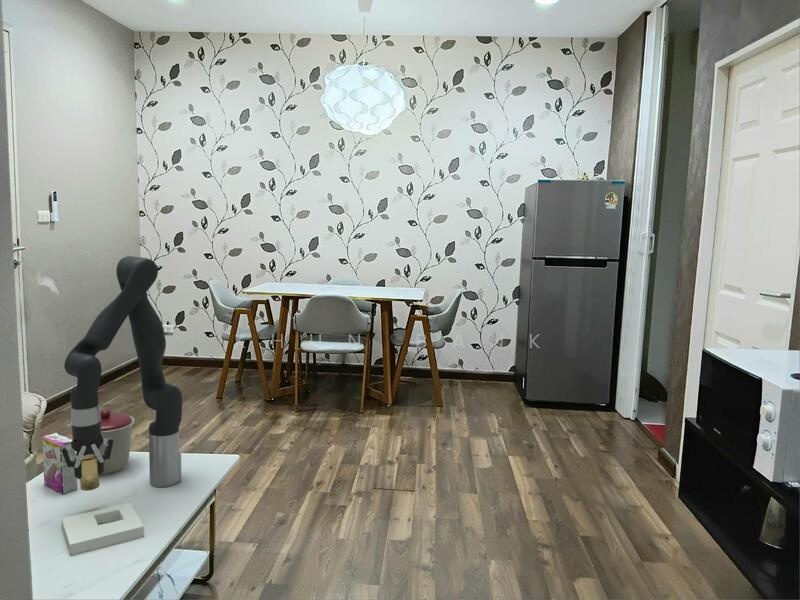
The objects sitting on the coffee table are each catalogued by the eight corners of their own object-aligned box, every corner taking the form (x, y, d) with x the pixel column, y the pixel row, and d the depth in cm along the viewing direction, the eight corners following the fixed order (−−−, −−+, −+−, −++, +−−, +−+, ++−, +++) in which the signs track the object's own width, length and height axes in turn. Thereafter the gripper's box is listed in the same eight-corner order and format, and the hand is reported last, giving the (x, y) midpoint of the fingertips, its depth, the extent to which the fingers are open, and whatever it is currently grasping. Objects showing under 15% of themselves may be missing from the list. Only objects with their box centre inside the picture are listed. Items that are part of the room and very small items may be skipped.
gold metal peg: (97, 481, 184) (96, 453, 183) (101, 487, 180) (99, 459, 179) (79, 485, 182) (77, 456, 180) (82, 492, 178) (80, 462, 176)
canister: (127, 479, 203) (126, 418, 200) (68, 480, 200) (66, 418, 197) (141, 457, 221) (139, 400, 218) (87, 458, 218) (85, 401, 215)
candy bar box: (42, 485, 196) (40, 436, 194) (58, 480, 201) (56, 432, 198) (62, 495, 191) (60, 444, 188) (78, 489, 195) (76, 440, 192)
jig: (130, 512, 182) (130, 502, 181) (143, 536, 169) (143, 526, 169) (61, 528, 171) (61, 518, 171) (70, 555, 159) (70, 544, 158)
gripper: (110, 412, 185) (113, 465, 188) (56, 421, 177) (60, 477, 179) (115, 420, 179) (118, 474, 182) (59, 429, 171) (63, 487, 173)
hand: (89, 475), depth 180 cm, fingers closed on gold metal peg, 5 cm apart
